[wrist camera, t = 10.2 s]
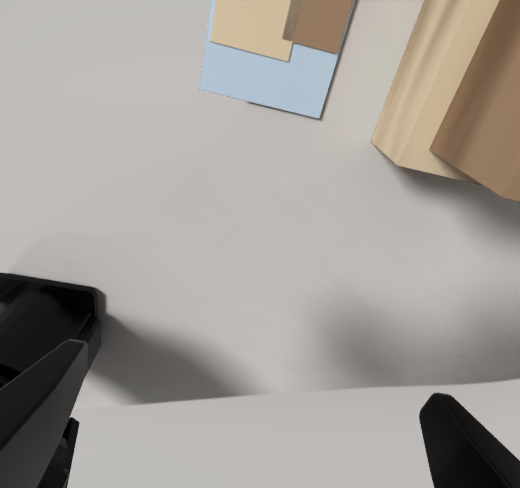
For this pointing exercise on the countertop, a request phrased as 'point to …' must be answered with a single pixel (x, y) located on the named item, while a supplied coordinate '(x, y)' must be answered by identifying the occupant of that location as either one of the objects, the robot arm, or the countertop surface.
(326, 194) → the countertop surface
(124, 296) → the countertop surface
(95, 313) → the robot arm
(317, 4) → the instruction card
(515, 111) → the walnut block
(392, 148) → the base block
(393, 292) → the countertop surface
